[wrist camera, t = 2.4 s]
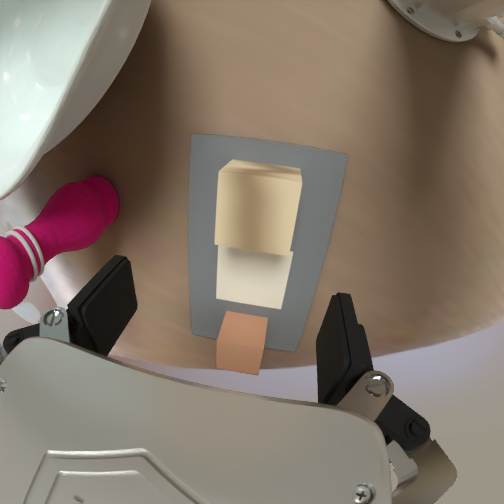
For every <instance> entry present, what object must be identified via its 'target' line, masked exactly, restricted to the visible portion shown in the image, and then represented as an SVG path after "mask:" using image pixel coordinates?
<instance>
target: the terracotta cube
mask: <svg viewBox="0 0 504 504" xmlns="http://www.w3.org/2000/svg"><path fill="white" fill-rule="evenodd" d="M267 322H268V318H266V317H260V316H254V315H248V314H242V313H236V312H231V311H226V313H225V316H224V320H223V323H222V326H221V329H220V332H219V336H218V339H217V351H216V368H219V369H224V370H229V371H235V372H240V373H246V374H252V375H258V373H259V369H260V364H261V360H262V355H263V351H264V344H265V337H266V329H267Z"/></svg>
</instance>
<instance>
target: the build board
mask: <svg viewBox="0 0 504 504" xmlns="http://www.w3.org/2000/svg"><path fill="white" fill-rule="evenodd" d="M232 159H234V160H243V161H251V162H259V163H266V164H273V165H280V166H287V167H293V168H299V169H300V171H301V177H302V188H301V194H300V200H299V205H298V211H297V216H296V222H295V227H294V232H293V238H292V243H291V248H290V253H289V256H284V255H278V254H272V253H265V252H259V251H253V250H246V249H240V248H234V247H227V246H221V245H215V223H216V205H217V188H218V173H219V171H220V170H221V169H222V168H223V167H224V166H225V165H227V164H228V163H229V162H230V161H231V160H232ZM347 160H348V155H347V154H344V153H340V152H335V151H330V150H325V149H320V148H314V147H309V146H303V145H297V144H291V143H284V142H278V141H270V140H263V139H254V138H245V137H235V136H224V135H211V134H191V146H190V169H189V209H188V248H189V288H190V311H191V328H192V334H194V335H198V336H203V337H208V338H213V339H218V336H219V332H220V329H221V326H222V323H223V320H224V316H225V313H226V311H231V312H236V313H242V314H248V315H254V316H260V317H266V318H268V322H267V329H266V337H265V344H264V348H269V349H276V350H283V351H291V352H296V350H297V347H298V344H299V341H300V338H301V335H302V332H303V329H304V326H305V323H306V320H307V317H308V314H309V310H310V307H311V304H312V301H313V297H314V294H315V291H316V287H317V284H318V280H319V277H320V273H321V270H322V266H323V262H324V259H325V255H326V251H327V248H328V244H329V240H330V236H331V232H332V228H333V224H334V220H335V215H336V211H337V207H338V203H339V198H340V194H341V189H342V184H343V180H344V175H345V170H346V165H347Z"/></svg>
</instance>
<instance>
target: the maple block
mask: <svg viewBox="0 0 504 504" xmlns="http://www.w3.org/2000/svg"><path fill="white" fill-rule="evenodd" d="M301 188H302V177H301V171H300V169H299V168H293V167H287V166H280V165H273V164H266V163H259V162H251V161H243V160H234V159H232V160H231V161H230V162H229V163H228V164H227V165H225V166H224V167H223V168H222V169H221V170H220V171H219V173H218V188H217V205H216V223H215V245H221V246H227V247H234V248H240V249H246V250H253V251H259V252H265V253H272V254H278V255H284V256H289V253H290V248H291V243H292V238H293V232H294V227H295V222H296V216H297V211H298V205H299V200H300V194H301Z"/></svg>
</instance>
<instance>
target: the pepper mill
mask: <svg viewBox="0 0 504 504" xmlns="http://www.w3.org/2000/svg"><path fill="white" fill-rule="evenodd" d="M118 212H119V199H118V195H117V193H116V191H115V189H114V187H113V186H112V185H111V183H110V182H109V181H107V180H106V179H104V178H102V177H99V176H93V177H90V178H87V179H85V180H83V181H81V182H71V183H68V184H66V185H64V186H63V187H61V188H60V189H58V190H57V191H56V192H55V193H54V194H53V195H52V196H51V198H50V199H49V201H48V202H47V204H46V206H45V207H44V209H43V210H42V212H41V213H40V215H39V216H38V217H37V218H36V219H35V220H34V221H32V222H31V223H30V224H28V225H26V226H24V227H23V226H15V227H14V228H13V229H12V230H10V231H8V232H7V233H6V234H5V237H1V236H0V309H11V308H13V307H15V306H17V305H18V304H19V303H21V302H22V301H23V299H24V298H25V297H26V295H27V293H28V289H29V282H33V281H35V280H36V279H37V277H38V276H40V275H41V274H42V273H43V271H44V265H45V264H46V263H47V262H48V261H49V260H50V259H52V258H53V257H54V256H56V255H57V254H60V253H62V252H67V251H76V250H80V249H83V248H86V247H88V246H90V245H91V244H93V243H94V242H96V241H97V240H98V239H99V237H100V236H101V234H102V232H103V230H104V229H105V228H106V227H107V226H109V225H110V224H111V223H113V222H114V220H115V219H116V218H117V215H118Z"/></svg>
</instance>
